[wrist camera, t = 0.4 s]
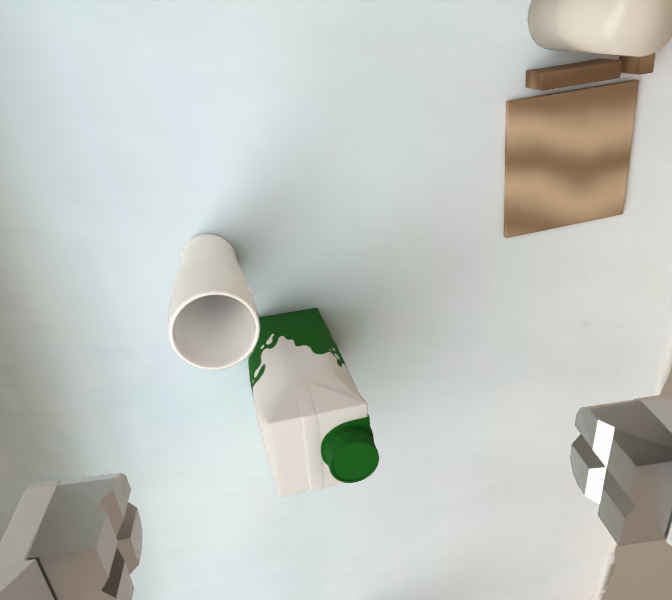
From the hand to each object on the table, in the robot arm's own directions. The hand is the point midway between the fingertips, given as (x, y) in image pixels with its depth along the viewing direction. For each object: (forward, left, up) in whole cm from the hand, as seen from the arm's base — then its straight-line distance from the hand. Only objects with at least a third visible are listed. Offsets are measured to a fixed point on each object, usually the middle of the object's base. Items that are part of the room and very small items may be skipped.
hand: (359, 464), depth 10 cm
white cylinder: (-4, +33, -46) cm, 57 cm away
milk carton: (+24, +2, -46) cm, 52 cm away
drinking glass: (+13, -4, -46) cm, 48 cm away
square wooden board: (+10, +34, -46) cm, 58 cm away
